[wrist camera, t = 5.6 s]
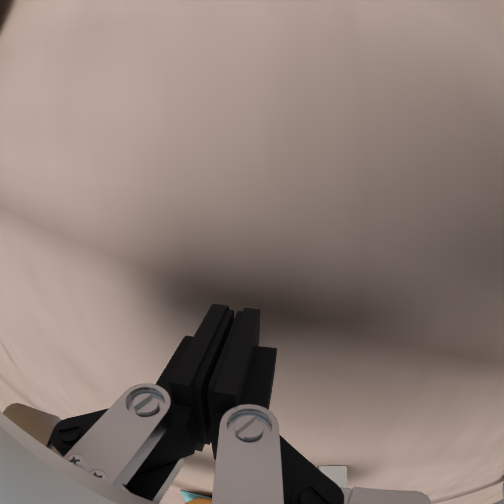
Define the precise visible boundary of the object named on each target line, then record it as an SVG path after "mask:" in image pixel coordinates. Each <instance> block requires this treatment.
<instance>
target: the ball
mask: <svg viewBox="0 0 504 504" xmlns="http://www.w3.org/2000/svg"><path fill="white" fill-rule="evenodd" d="M211 503H212V498H196V499H193V500H190V501H188V502H186V503H185V504H211Z"/></svg>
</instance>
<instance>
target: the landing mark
mask: <svg viewBox="0 0 504 504" xmlns="http://www.w3.org/2000/svg"><path fill="white" fill-rule="evenodd" d="M180 492H181V493H182V495H183V497H184V498H185V500H186V502H188V501H190V500H193V499H196V498H211V497H207V496H202V495H198V494H194V493H190V492H187V491H183V490H181V491H180Z"/></svg>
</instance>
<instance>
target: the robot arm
mask: <svg viewBox="0 0 504 504" xmlns="http://www.w3.org/2000/svg"><path fill="white" fill-rule="evenodd" d="M259 326H260V309H251V308H244V310H243V312H241V311H238V312H237V314H236V317H235V319H234V311H233V310H229V306H225V305H218V304H212V306H211V307H210V309H209V311H208V313H207V314H206V316H205V318H204V320H203V321H202V323H201V325H200V327H199V328H198V330H197V332H196V334H195V335H194V337H192V336H185V337H184V338H183V340H182V341H181V343H180V345H179V346H178V348H177V350H176V351H175V353H174V355H173V356H172V358H171V360H170V361H169V363H168V364H167V366H166V368H165V369H164V371H163V373H162V374H161V376H160V378H159V379H158V381H157V383H156V384H155V385H154V384H146V383H144V384H138V385H135V386H133V387H130V388H129V389H128V390H126V391H125V392H124V393H123V394H122V395H121V396H120V397H119V399H118V400H117V401H116V402H115V403H114V404H113V405H112V406H111V407H110V408H109V409H105V410H101V411H97V412H93V413H89V414H85V415H80V416H76V417H71V418H67V419H64V420H61V419H60V418H59V417H58V416H55V415H51V414H48V413H45V412H42V411H39V410H37V409H34V408H31V407H28V406H26V405H23V404H19V403H15V404H11V405H9V406H8V407H7V408H6V409H5V410H4V412H3V414H2V413H1V412H0V504H159V502H160V501H161V499H162V498H163V496H164V494H165V493H166V491H167V490H168V488H169V487H170V485H171V484H172V482H173V480H174V479H175V477H176V476H177V474H178V473H179V471H180V469H181V468H182V466H183V465H184V463H185V460H186V457H187V456H190V455H192V454H194V452H195V450H198V451H202V450H203V447H204V444H208V445H210V443H212V449H213V455H214V459H215V460H216V465H215V475H214V484H213V494H212V503H211V504H431V501H430V499H429V498H428V496H427V495H425V494H424V493H422V492H418V491H399V490H382V489H370V488H361V487H353V488H352V489H350V488H343V487H339V486H338V485H337V484H336V483H335V482H334V481H332V480H331V479H330V478H329V477H327V476H326V475H325V474H324V473H322V472H321V471H320V470H319V469H318V468H316V467H315V466H314V465H313V464H312V463H310V462H309V461H308V460H307V459H306V458H305V457H303V456H302V455H301V454H300V453H299V452H298V451H297V450H296V449H294V448H293V447H292V446H291V445H290V444H289V443H288V442H287V441H286V440H285V439H284V438H282V437H281V436H280V435H279V425H278V421H277V418H276V417H275V416H274V414H273V413H272V412H271V411H269V405H270V399H271V392H272V386H273V379H274V371H275V363H276V354H277V348H270V347H261V346H258V343H259Z"/></svg>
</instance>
